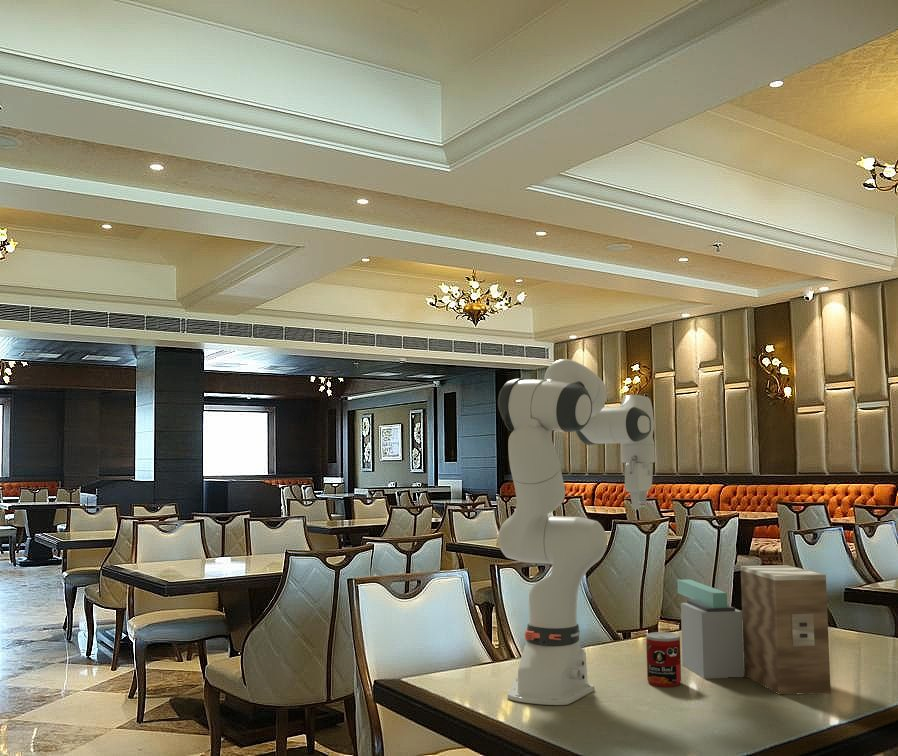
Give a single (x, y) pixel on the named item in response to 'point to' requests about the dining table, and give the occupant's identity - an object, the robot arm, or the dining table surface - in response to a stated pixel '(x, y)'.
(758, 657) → the stand
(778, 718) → the dining table surface
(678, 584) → the long teal bar
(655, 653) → the canned food
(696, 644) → the phone dock
